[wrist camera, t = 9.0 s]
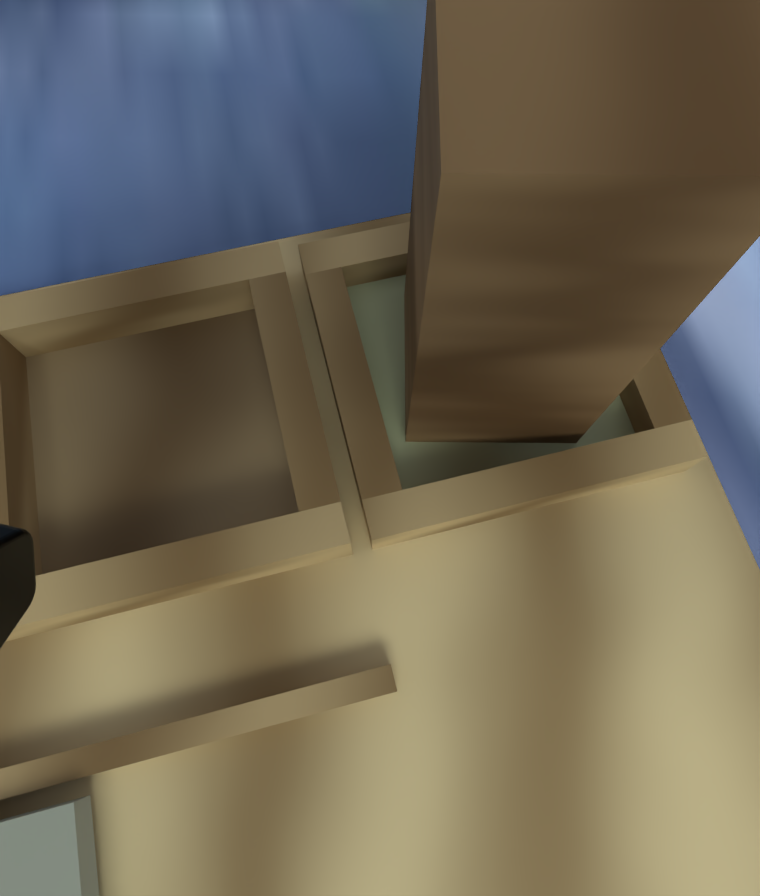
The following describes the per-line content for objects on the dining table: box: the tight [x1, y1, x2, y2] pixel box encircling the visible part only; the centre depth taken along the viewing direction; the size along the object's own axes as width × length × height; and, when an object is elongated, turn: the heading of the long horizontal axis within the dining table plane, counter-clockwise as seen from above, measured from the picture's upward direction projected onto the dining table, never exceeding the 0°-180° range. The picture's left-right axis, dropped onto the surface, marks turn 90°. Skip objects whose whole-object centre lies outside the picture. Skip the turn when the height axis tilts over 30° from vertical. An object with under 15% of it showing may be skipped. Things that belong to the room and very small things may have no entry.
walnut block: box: [404, 0, 760, 443], centre depth 13 cm, size 4×4×10 cm
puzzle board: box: [0, 213, 760, 896], centre depth 15 cm, size 26×22×3 cm
